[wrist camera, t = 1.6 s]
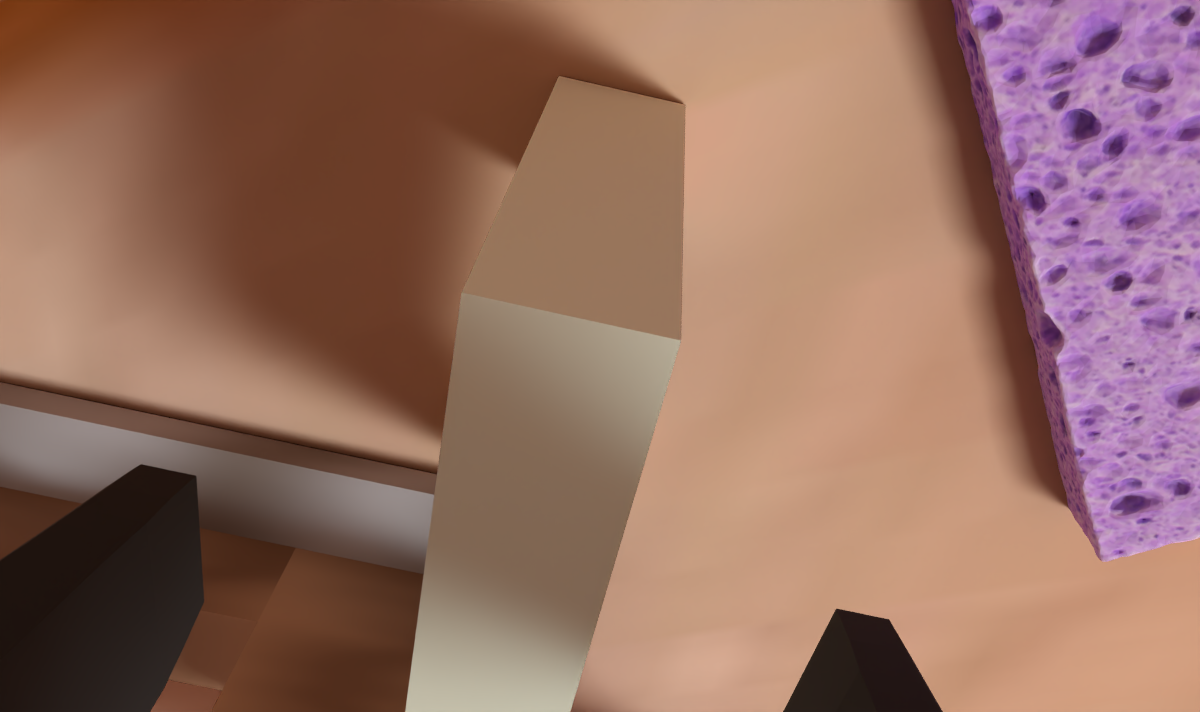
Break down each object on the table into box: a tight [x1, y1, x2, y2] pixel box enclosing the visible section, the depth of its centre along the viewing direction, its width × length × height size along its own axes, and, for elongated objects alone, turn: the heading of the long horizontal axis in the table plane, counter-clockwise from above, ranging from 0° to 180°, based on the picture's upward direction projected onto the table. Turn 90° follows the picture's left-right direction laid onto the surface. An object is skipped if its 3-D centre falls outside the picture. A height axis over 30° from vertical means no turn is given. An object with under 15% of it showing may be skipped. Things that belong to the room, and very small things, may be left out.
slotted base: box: [0, 382, 437, 712], centre depth 18 cm, size 14×7×5 cm, turn 79°
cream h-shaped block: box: [405, 76, 685, 712], centre depth 13 cm, size 8×2×7 cm, turn 169°
